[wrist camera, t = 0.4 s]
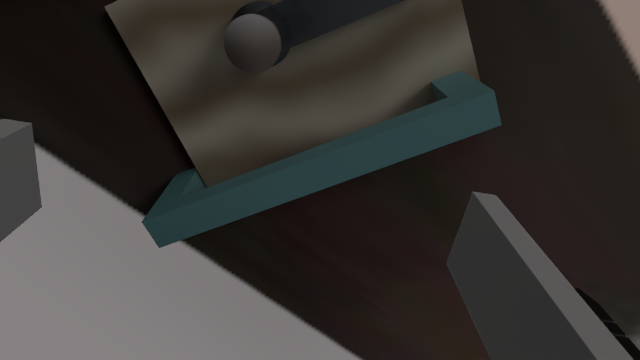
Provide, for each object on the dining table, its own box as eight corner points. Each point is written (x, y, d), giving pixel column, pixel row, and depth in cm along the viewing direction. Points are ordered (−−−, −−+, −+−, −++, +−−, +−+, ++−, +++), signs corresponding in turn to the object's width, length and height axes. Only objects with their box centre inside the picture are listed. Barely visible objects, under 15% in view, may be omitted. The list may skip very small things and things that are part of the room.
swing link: (251, 69, 33) (245, 77, 31) (225, 13, 32) (217, 17, 29) (432, -6, 31) (443, -5, 29) (415, -70, 29) (426, -76, 27)
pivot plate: (112, 5, 33) (44, 14, 25) (422, -138, 29) (465, -186, 21) (229, 213, 41) (207, 272, 33) (484, 120, 37) (533, 161, 29)
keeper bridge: (175, 174, 39) (141, 221, 32) (455, 66, 35) (493, 90, 28) (188, 196, 40) (159, 247, 33) (462, 94, 36) (501, 124, 29)
